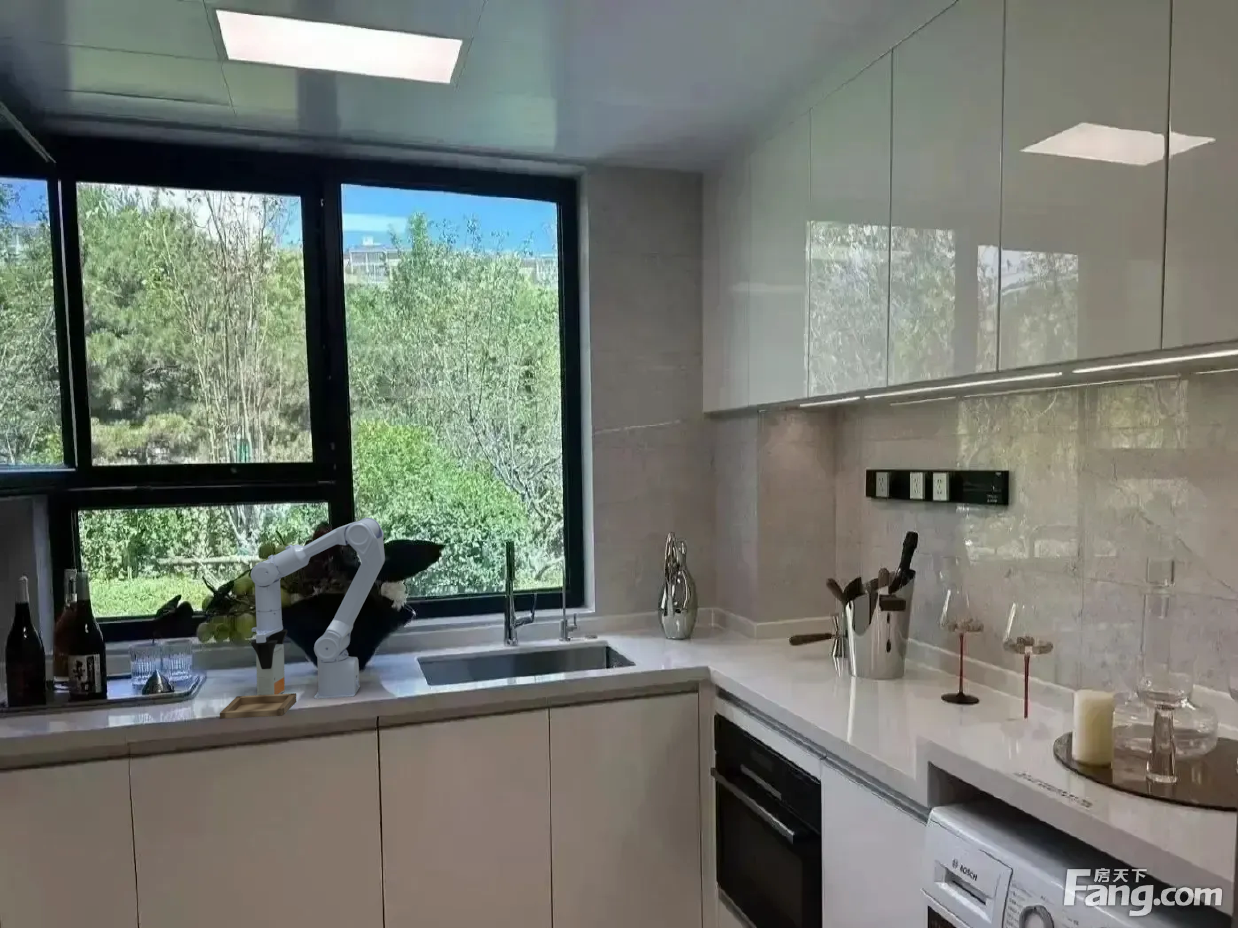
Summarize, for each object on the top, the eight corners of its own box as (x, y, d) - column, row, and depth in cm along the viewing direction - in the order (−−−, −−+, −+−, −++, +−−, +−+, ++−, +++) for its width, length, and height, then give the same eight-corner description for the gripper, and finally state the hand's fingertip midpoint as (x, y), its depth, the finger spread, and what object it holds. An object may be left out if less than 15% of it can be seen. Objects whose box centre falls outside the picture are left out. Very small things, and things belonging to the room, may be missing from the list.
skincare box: (273, 699, 198) (272, 650, 197) (256, 699, 198) (255, 650, 198) (286, 691, 204) (284, 643, 203) (269, 691, 204) (267, 643, 204)
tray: (296, 703, 195) (296, 693, 195) (283, 720, 183) (282, 709, 183) (237, 706, 193) (237, 696, 193) (220, 724, 182) (219, 713, 182)
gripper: (260, 603, 207) (262, 656, 207) (241, 617, 192) (244, 674, 193) (289, 602, 208) (291, 655, 208) (273, 615, 193) (275, 672, 194)
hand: (270, 664), depth 201 cm, fingers open, 7 cm apart
